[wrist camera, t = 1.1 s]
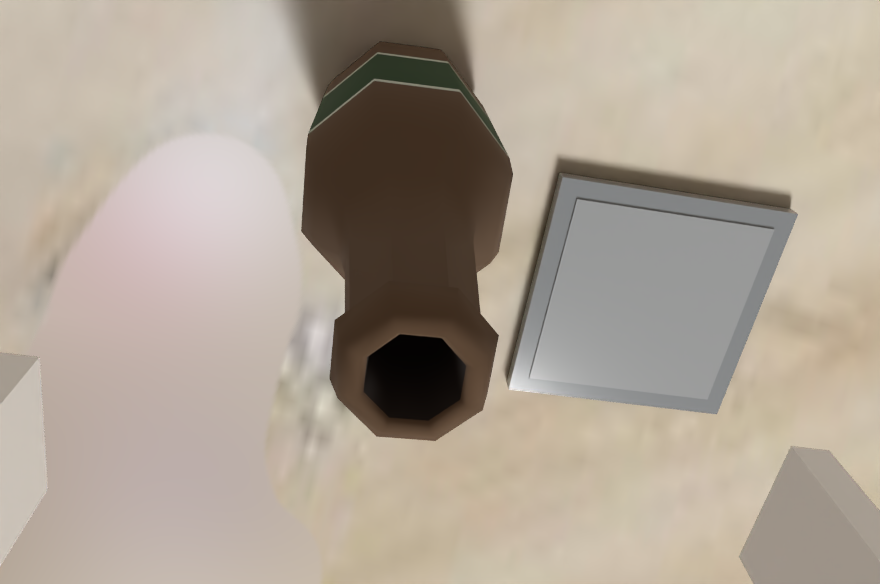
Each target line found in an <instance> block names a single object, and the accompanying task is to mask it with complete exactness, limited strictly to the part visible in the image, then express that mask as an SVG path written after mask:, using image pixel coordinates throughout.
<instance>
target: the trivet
mask: <svg viewBox="0 0 880 584" xmlns="http://www.w3.org/2000/svg"><path fill="white" fill-rule="evenodd" d="M797 216H798V214H797V213H796V212H794V211H793V210H791V209H787V208H781V207H775V206H768V205H762V204H756V203H749V202H743V201H737V200H730V199H724V198H718V197H711V196H705V195H699V194H692V193H686V192H680V191H673V190H667V189H661V188H654V187H648V186H642V185H635V184H629V183H623V182H616V181H610V180H604V179H597V178H591V177H585V176H578V175H572V174H566V173H559V177H558V181H557V185H556V189H555V193H554V197H553V201H552V205H551V209H550V213H549V217H548V221H547V225H546V229H545V233H544V236H543V240H542V244H541V248H540V252H539V256H538V260H537V264H536V268H535V272H534V276H533V280H532V284H531V288H530V292H529V296H528V300H527V304H526V308H525V312H524V316H523V319H522V323H521V327H520V331H519V335H518V339H517V343H516V347H515V351H514V355H513V359H512V363H511V367H510V371H509V375H508V379H507V385H508V389H509V390H517V391H525V392H533V393H542V394H550V395H559V396H567V397H576V398H584V399H593V400H601V401H610V402H618V403H626V404H635V405H643V406H652V407H660V408H669V409H677V410H686V411H694V412H702V413H711V414H717V413H718V410H719V408H720V405H721V403H722V400H723V398H724V395H725V393H726V390H727V388H728V385H729V383H730V381H731V378H732V376H733V373H734V371H735V368H736V366H737V363H738V361H739V358H740V356H741V353H742V351H743V349H744V346H745V344H746V341H747V339H748V336H749V334H750V331H751V329H752V326H753V324H754V321H755V319H756V316H757V314H758V312H759V309H760V307H761V304H762V302H763V299H764V297H765V294H766V292H767V289H768V287H769V284H770V282H771V280H772V277H773V275H774V272H775V270H776V267H777V265H778V262H779V260H780V257H781V255H782V252H783V250H784V248H785V245H786V243H787V240H788V238H789V235H790V233H791V230H792V228H793V225H794V223H795V220H796V218H797Z"/></svg>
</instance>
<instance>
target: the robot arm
mask: <svg viewBox="0 0 880 584" xmlns="http://www.w3.org/2000/svg"><path fill="white" fill-rule="evenodd" d="M42 405H43V404H42V387H41V371H40V357H35V356H26V355H18V354H9V353H1V352H0V566H1V565H2V563H3V561H4V560H5V558H6V556H7V555H8V553H9V552H10V550H11V548H12V547H13V545H14V543H15V542H16V540H17V538H18V537H19V535H20V534H21V532H22V530H23V529H24V527H25V526H26V524H27V522H28V521H29V519H30V518H31V516H32V514H33V513H34V511H35V510H36V508H37V506H38V505H39V503H40V501H41V500H42V498H43V497H44V495H45V493H46V492H47V490H48V486H47V469H46V452H45V438H44V437H45V436H44V421H43V406H42ZM739 558H740V560H741V561H742V563H743V565H744V567H745V569H746V571H747V572H748V574H749V576H750V578H751V580H752V581H753V583H754V584H880V511H879V509H878V508H877V507H876V506H875V505H874V503H873V502H872V501H871V500H870V499H869V497H868V496H867V495H866V494H865V493H864V491H863V490H862V489H861V488H860V487H859V485H858V484H857V483H856V482H855V481H854V479H853V478H852V477H851V476H850V475H849V473H848V472H847V471H846V470H845V469H844V467H843V466H842V465H841V464H840V463H839V461H838V460H837V459H836V458H835V457H834V455H833V454H832V453H831V452H830V451H829V450H820V449H812V448H804V447H795V446H791V448H790V450H789V452H788V454H787V456H786V458H785V460H784V462H783V464H782V467H781V469H780V471H779V473H778V475H777V477H776V479H775V481H774V483H773V486H772V488H771V490H770V492H769V494H768V496H767V498H766V500H765V502H764V505H763V507H762V509H761V511H760V513H759V515H758V517H757V519H756V521H755V524H754V526H753V528H752V530H751V532H750V534H749V536H748V538H747V540H746V543H745V545H744V547H743V549H742V551H741V553H740V555H739Z"/></svg>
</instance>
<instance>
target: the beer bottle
mask: <svg viewBox="0 0 880 584" xmlns="http://www.w3.org/2000/svg"><path fill="white" fill-rule="evenodd" d="M512 177H513V172H512V168H511V163H510V159H509V157H508V155H507V153H506V151H505V149H504V147H503V145H502V143H501V141H500V139H499V137H498V135H497V133H496V131H495V129H494V127H493V125H492V123H491V121H490V119H489V117H488V115H487V113H486V111H485V109H484V107H483V105H482V104H481V103H480V101H479V100H478V99H477V97H476V96H475V95H474V93H473V92H472V90H471V89H470V88H469V86H468V85H467V84H466V82H465V81H464V79H463V78H462V77H461V75H460V74H459V73H458V71H457V70H456V68H455V67H454V66H453V64H452V63H451V62H450V60H449V59H448V58H447V56H446V55H445V53H444V52H443V51H442V50H439V49H432V48H425V47H417V46H410V45H402V44H395V43H388V42H379V43H377V44H376V45H375V46H374V47H373V48H371V49H370V50H369V51H368V52H367V53H365V54H364V55H363V56H362V57H360V58H359V59H358V60H357V61H356V62H354V63H353V64H352V65H351V66H349V67H348V68H347V69H346V70H345V71H343V72H342V73H341V74H340V75H339V76H337V77H336V78H335V79H334V80H333V81H332V82H331V83H330V84H329V85H328V87H327V90H326V92H325V94H324V97H323V99H322V102H321V104H320V106H319V109H318V111H317V114H316V116H315V119H314V121H313V123H312V126H311V128H310V131H309V133H308V139H307V148H306V162H305V179H304V195H303V212H302V229H301V231H302V233H303V234H304V235H305V236H306V238H307V239H308V240H309V241H310V242H311V244H312V245H313V246H314V247H315V248H316V249H317V250H318V251H319V252H320V253H321V255H322V256H323V257H324V258H325V259H326V260H327V261H328V262H329V263H330V264H331V265H332V266H333V268H334V269H335V270H336V271H337V272H338V273H339V274H340V275H341V276H342V277H343V278H344V279H345V313H344V314H343V315H341V316H340V317H339V318H337V319H336V320H335V323H334V335H333V347H332V358H331V370H330V380H331V383H332V385H333V388H334V390H335V393H336V395H337V397H338V399H339V400H340V401H341V402H342V403H343V404H344V405H345V406H346V407H347V408H348V409H349V410H350V411H351V412H352V413H353V414H354V415H355V416H356V417H357V418H358V419H359V420H360V421H361V422H363V423H364V424H365V425H366V426H367V427H368V428H369V429H370V430H371V431H372V432H373V433H374V434H375V435H376V436H378V437H392V438H405V439H418V440H431V441H436V440H437V439H439V438H440V437H442V436H443V435H445V434H446V433H448V432H449V431H451V430H453V429H454V428H456V427H457V426H459V425H460V424H462V423H463V422H465V421H466V420H468V419H469V418H471V417H472V416H474V415H476V414H477V413H479V412H480V411H482V410H483V407H484V403H485V400H486V396H487V392H488V387H489V382H490V377H491V372H492V367H493V362H494V357H495V352H496V347H497V342H498V336H499V335H498V334H497V333H496V332H495V330H494V329H493V328H492V327H491V326H490V325H489V323H488V322H487V321H486V320H485V319H484V317H483V316H482V315H481V314H480V305H479V294H478V284H477V272H479V271H480V270H481V269H483V268H484V267H486V266H487V265H488V264H490V263H491V262H492V260H493V259H494V258H495V256H496V255H497V254H498V252H499V247H500V242H501V236H502V231H503V225H504V220H505V215H506V209H507V204H508V198H509V193H510V188H511V182H512Z"/></svg>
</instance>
